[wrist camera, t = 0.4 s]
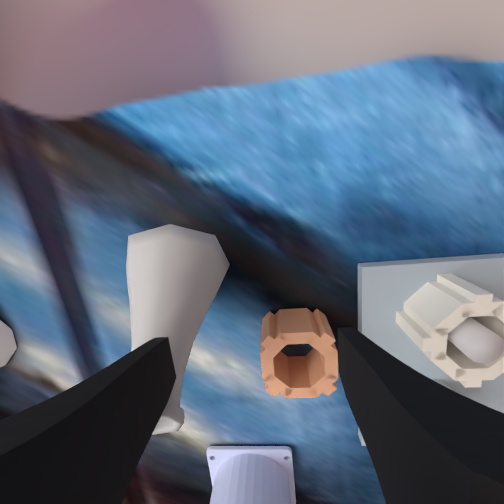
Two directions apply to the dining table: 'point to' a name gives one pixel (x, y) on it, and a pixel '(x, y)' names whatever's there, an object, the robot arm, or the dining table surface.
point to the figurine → (6, 344)
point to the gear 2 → (452, 325)
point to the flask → (172, 296)
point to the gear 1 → (298, 367)
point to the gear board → (400, 288)
